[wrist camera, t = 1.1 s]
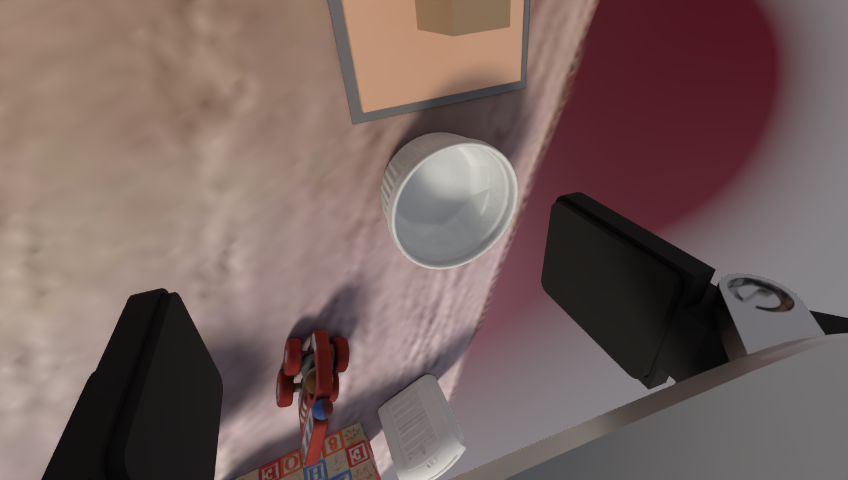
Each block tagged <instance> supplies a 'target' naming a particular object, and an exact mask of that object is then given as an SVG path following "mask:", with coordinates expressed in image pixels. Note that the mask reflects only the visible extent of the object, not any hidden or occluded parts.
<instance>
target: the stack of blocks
mask: <svg viewBox="0 0 848 480" xmlns="http://www.w3.org/2000/svg"><path fill="white" fill-rule="evenodd" d="M233 480H381V478H380V475H379V472H378V469H377V466H376V462H375V459H374V455H373V452H372V448H371V445H370V442H369V439H368V437H367V435H366V433H365V431H364V429H363V427H362V425H361V422H359V423H356V424H354V425H352V426H350V427H347V428H345V429H343V430H340V431H338V432H335V433H333V434H331V435H329V436H327V437H325V439H324V442H323V446H322V450H321V454H320V457H319V461H318V463H317V464H313V465H308V466H304V464H303V457H302V448H301V449H299V450H296V451H295V452H293V453H290V454H288V455H286V456H284V457H282V458H280V459H278V460H275V461H273V462H271V463H269V464H267V465H264V466H262V467H260V468H259V469H255V470H253V471H251V472H249V473H247V474H244V475H242V476H240V477H238V478H236V479H233Z"/></svg>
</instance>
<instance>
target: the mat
mask: <svg viewBox="0 0 848 480" xmlns="http://www.w3.org/2000/svg"><path fill="white" fill-rule="evenodd" d="M327 1H328V6H329V11H330V16H331V20H332V25H333V30H334V35H335V40H336V45H337V50H338V55H339V60H340V65H341V70H342V74H343V79H344V84H345V89H346V94H347V99H348V104H349V109H350V114H351V119H352V123H353V125H354V124H359V123H364V122H368V121H373V120H378V119H382V118H387V117H392V116H396V115H401V114H406V113H411V112H415V111H420V110H425V109H429V108H434V107H439V106H443V105H448V104H453V103H457V102H462V101H467V100H472V99H476V98H481V97H486V96H490V95H495V94H500V93H504V92H509V91H514V90H519V89H523V88H525V82H526V62H527V42H528V22H529V2H530V0H524V10H523V34H522V57H521V80H520V81H516V82H511V83H506V84H501V85H496V86H491V87H487V88H482V89H477V90H472V91H467V92H462V93H457V94H453V95H448V96H443V97H438V98H433V99H428V100H424V101H419V102H414V103H409V104H404V105H399V106H394V107H390V108H385V109H380V110H375V111H370V112H365V113H363V112H362V108H361V103H360V97H359V92H358V86H357V81H356V76H355V70H354V65H353V60H352V54H351V49H350V43H349V38H348V33H347V27H346V22H345V17H344V11H343V6H342V1H341V0H327Z"/></svg>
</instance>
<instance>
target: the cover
mask: <svg viewBox="0 0 848 480" xmlns="http://www.w3.org/2000/svg"><path fill="white" fill-rule="evenodd" d="M341 1H342V6H343V11H344V17H345V22H346V27H347V33H348V38H349V43H350V49H351V54H352V60H353V65H354V70H355V76H356V81H357V86H358V92H359V97H360V103H361V108H362V112H363V113H365V112H370V111H375V110H380V109H385V108H390V107H394V106H399V105H404V104H409V103H414V102H419V101H424V100H428V99H433V98H438V97H443V96H448V95H453V94H457V93H462V92H467V91H472V90H477V89H482V88H487V87H491V86H496V85H501V84H506V83H511V82H516V81H520V80H521V57H522V34H523V10H524V0H341Z"/></svg>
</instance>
